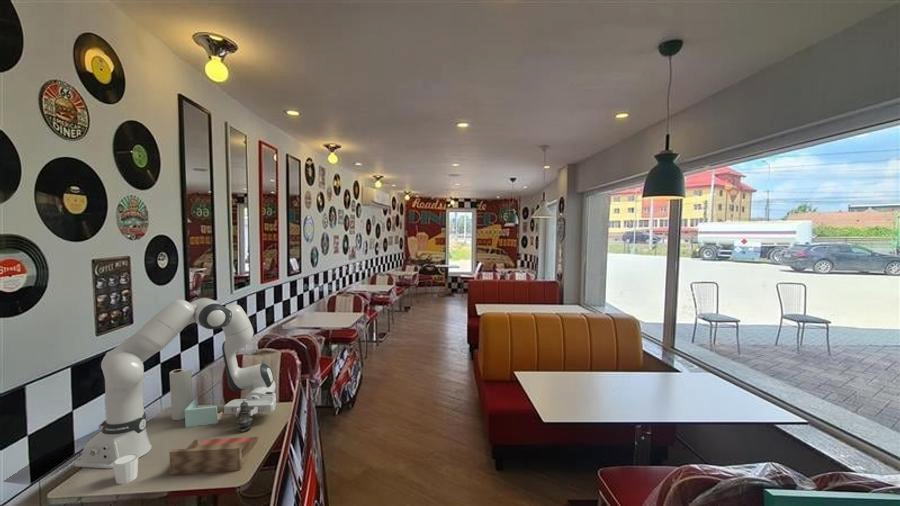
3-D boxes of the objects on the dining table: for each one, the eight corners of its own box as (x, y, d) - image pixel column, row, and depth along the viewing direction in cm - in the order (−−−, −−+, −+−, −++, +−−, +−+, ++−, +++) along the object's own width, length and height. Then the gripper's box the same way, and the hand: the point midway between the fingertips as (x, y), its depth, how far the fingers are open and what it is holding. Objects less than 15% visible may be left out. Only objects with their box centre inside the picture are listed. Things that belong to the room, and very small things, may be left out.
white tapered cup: (108, 484, 134) (106, 464, 133) (127, 471, 141) (126, 452, 140) (126, 486, 133) (124, 465, 132) (144, 473, 140) (143, 454, 139)
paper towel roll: (168, 420, 178) (165, 372, 176) (180, 413, 184) (177, 367, 182) (182, 421, 176) (180, 373, 175) (193, 415, 182) (191, 368, 181)
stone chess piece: (246, 432, 166) (245, 404, 165) (233, 430, 167) (232, 402, 166) (255, 425, 171) (254, 397, 170) (243, 423, 172) (242, 396, 172)
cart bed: (170, 474, 139) (169, 452, 139) (202, 441, 160) (201, 422, 159) (240, 470, 141) (239, 448, 141) (262, 438, 162) (261, 419, 162)
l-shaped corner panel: (217, 423, 174) (216, 406, 174) (185, 427, 171) (184, 410, 171) (224, 411, 186) (224, 395, 185) (195, 414, 183) (194, 398, 182)
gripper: (231, 394, 180) (216, 408, 166) (279, 392, 182) (268, 406, 168) (232, 407, 181) (217, 423, 167) (279, 406, 183) (268, 420, 169)
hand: (243, 414), depth 168 cm, fingers closed on stone chess piece, 3 cm apart
